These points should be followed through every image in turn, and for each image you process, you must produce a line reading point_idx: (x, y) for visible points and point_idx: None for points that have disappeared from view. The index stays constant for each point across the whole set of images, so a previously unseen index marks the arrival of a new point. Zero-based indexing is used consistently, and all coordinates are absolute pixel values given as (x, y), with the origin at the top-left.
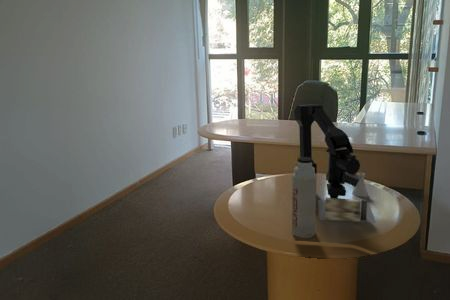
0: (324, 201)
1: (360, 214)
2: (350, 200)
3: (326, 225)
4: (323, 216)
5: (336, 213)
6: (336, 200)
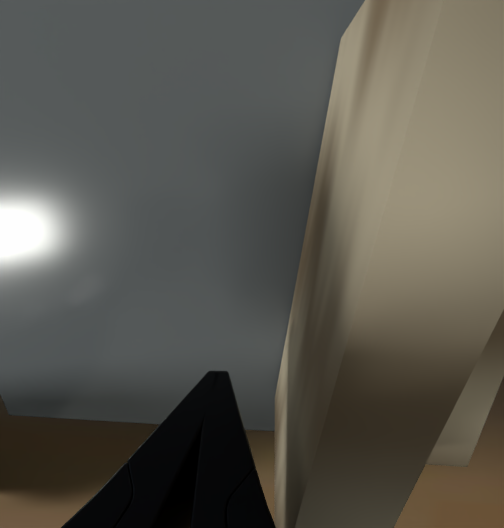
0: (26, 375)
1: (300, 14)
2: (482, 241)
3: None
4: None
5: (490, 374)
6: (397, 494)
